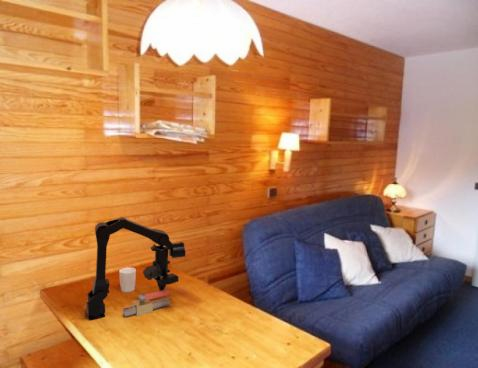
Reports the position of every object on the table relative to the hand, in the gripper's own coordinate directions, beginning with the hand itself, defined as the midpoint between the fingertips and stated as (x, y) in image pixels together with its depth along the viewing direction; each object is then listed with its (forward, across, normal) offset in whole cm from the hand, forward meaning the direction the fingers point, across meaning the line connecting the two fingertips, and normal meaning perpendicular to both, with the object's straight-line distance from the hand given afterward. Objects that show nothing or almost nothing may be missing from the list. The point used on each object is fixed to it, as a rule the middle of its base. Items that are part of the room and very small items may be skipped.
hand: (161, 292), depth 168 cm
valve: (+6, +1, -8) cm, 10 cm away
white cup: (+6, -25, -3) cm, 26 cm away
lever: (0, +1, -5) cm, 5 cm away
